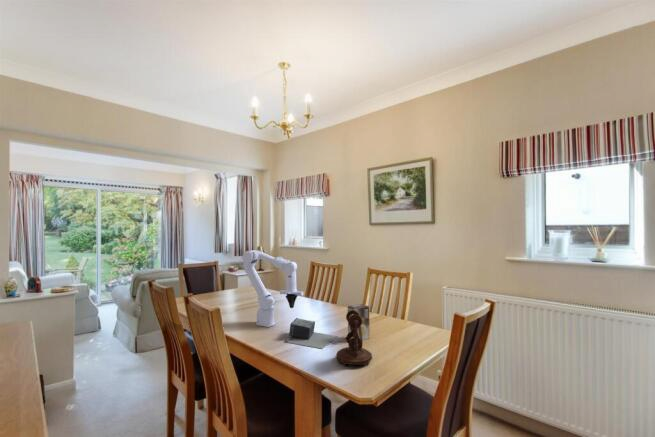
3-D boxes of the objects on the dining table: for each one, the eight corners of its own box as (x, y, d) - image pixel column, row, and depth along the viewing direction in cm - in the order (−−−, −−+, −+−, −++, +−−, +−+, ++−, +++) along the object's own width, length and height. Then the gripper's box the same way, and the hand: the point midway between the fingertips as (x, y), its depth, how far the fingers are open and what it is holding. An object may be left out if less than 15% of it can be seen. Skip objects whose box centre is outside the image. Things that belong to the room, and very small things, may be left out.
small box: (288, 336, 155) (308, 340, 153) (290, 323, 155) (310, 327, 153) (295, 329, 165) (314, 333, 163) (296, 317, 165) (315, 320, 163)
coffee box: (362, 335, 161) (362, 303, 161) (369, 338, 155) (369, 306, 155) (347, 338, 156) (347, 305, 157) (354, 342, 151) (354, 308, 151)
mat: (285, 342, 151) (285, 340, 151) (303, 331, 167) (303, 329, 167) (322, 349, 142) (322, 346, 142) (337, 336, 158) (337, 334, 158)
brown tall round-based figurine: (375, 367, 123) (375, 316, 124) (338, 369, 122) (338, 317, 123) (367, 352, 138) (367, 307, 138) (334, 353, 137) (334, 308, 137)
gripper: (276, 283, 175) (277, 308, 175) (298, 285, 169) (299, 310, 168) (283, 281, 182) (284, 305, 181) (305, 283, 175) (305, 307, 175)
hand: (291, 307), depth 175 cm, fingers closed
